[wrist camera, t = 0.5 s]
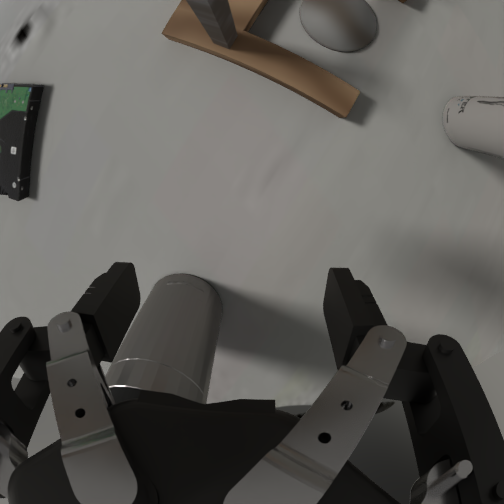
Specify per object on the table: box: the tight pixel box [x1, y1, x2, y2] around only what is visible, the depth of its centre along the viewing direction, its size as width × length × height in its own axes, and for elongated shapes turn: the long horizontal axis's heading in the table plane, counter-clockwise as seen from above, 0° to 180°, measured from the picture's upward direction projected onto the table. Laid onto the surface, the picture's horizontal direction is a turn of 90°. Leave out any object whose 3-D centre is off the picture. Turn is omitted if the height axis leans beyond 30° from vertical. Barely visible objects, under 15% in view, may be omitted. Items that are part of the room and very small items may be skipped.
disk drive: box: [0, 84, 44, 201], centre depth 26 cm, size 10×3×15 cm
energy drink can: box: [442, 96, 504, 159], centre depth 19 cm, size 6×6×15 cm
